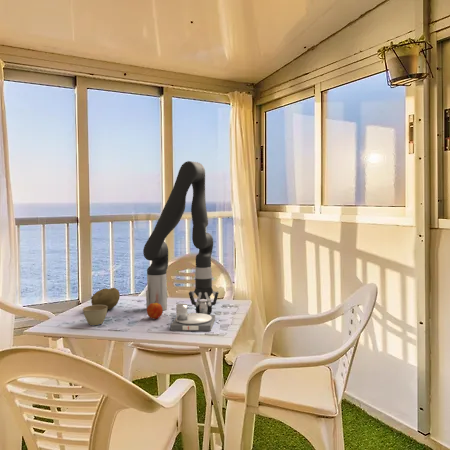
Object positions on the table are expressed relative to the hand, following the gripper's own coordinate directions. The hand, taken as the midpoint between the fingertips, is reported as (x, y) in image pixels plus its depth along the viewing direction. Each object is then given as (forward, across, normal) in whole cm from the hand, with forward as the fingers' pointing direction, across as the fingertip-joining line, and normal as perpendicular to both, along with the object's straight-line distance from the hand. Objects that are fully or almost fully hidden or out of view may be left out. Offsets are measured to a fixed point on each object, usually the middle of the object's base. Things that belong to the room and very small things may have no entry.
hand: (203, 313), depth 187 cm
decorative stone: (+1, -49, +7) cm, 49 cm away
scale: (+1, -2, -16) cm, 16 cm away
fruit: (+1, -21, -7) cm, 22 cm away
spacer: (0, 0, 0) cm, 0 cm away
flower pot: (+1, -44, -17) cm, 47 cm away
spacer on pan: (-2, -6, -18) cm, 20 cm away
